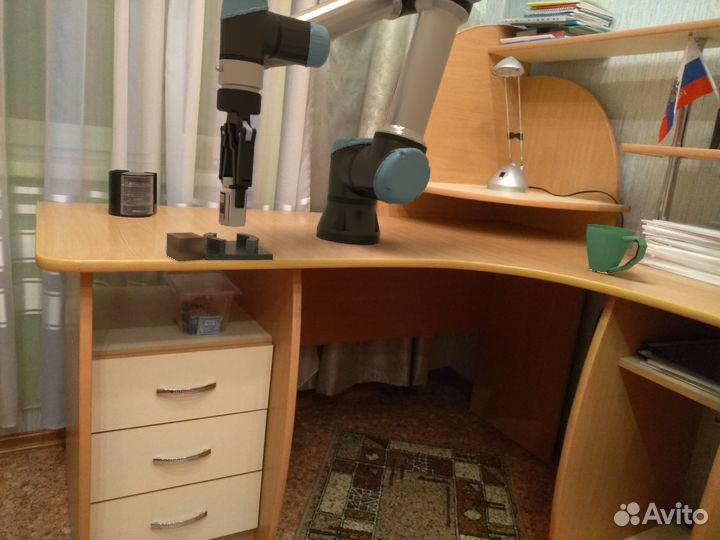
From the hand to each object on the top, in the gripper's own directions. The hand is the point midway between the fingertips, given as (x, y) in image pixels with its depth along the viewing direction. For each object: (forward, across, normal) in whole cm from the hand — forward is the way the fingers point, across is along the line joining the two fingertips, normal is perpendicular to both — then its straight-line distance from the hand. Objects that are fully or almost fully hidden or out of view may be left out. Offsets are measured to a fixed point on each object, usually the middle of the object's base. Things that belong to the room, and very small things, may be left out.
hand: (232, 223), depth 99 cm
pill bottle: (+1, 0, 0) cm, 1 cm away
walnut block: (+6, +4, -9) cm, 11 cm away
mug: (+6, +22, +79) cm, 82 cm away
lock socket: (+5, 0, 0) cm, 5 cm away
